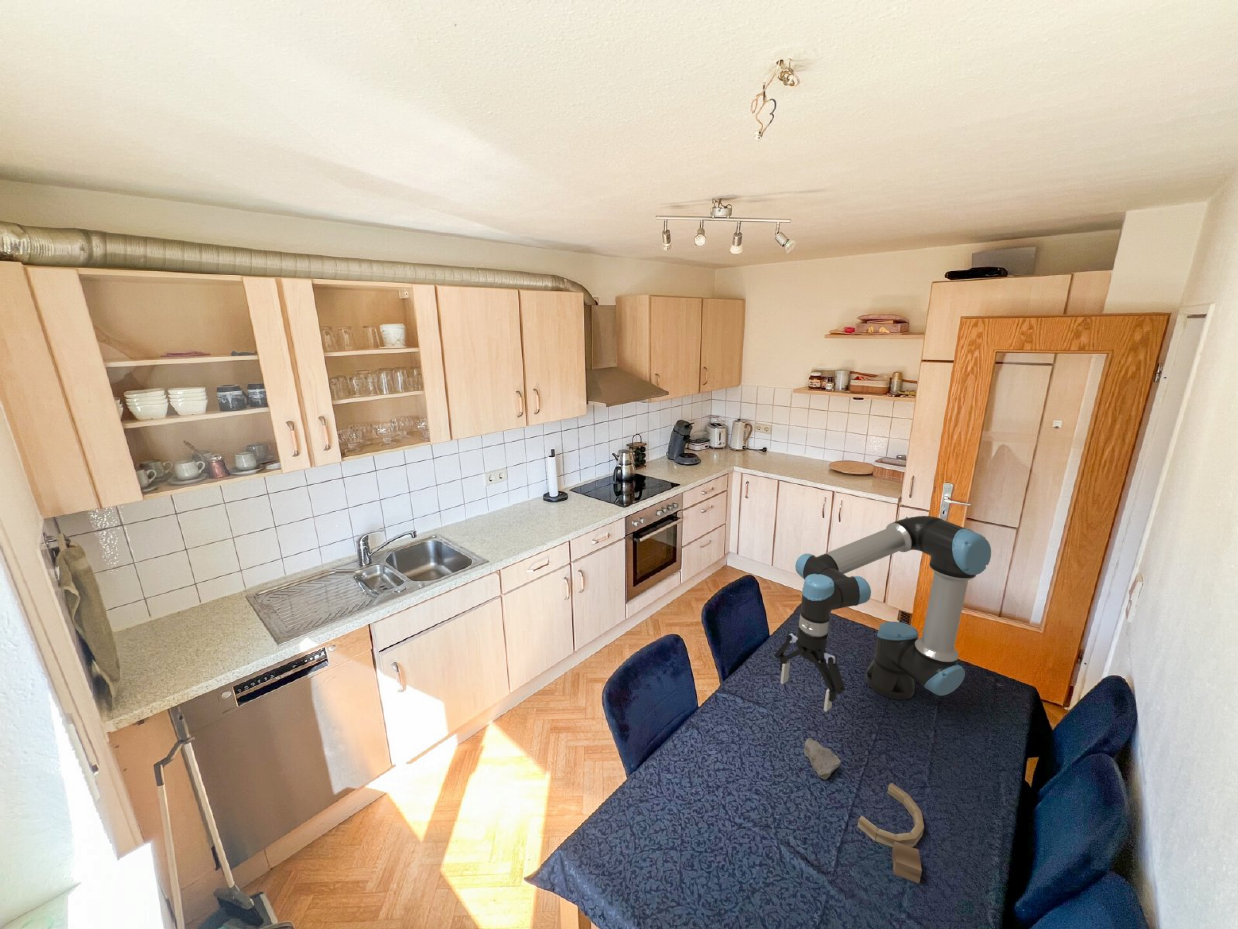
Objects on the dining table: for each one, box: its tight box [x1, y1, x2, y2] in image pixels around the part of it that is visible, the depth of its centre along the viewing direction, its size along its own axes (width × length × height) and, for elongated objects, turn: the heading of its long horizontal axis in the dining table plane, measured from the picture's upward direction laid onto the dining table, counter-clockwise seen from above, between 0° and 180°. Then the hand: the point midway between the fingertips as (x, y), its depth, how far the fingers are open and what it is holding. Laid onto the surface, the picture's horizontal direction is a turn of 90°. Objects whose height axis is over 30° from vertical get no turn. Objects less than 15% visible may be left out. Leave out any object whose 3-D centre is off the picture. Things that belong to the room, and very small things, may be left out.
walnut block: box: [891, 841, 923, 884], centre depth 112 cm, size 5×5×4 cm
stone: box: [803, 737, 841, 781], centre depth 139 cm, size 8×10×6 cm
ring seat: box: [856, 782, 925, 848], centre depth 122 cm, size 17×11×2 cm, turn 127°
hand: (805, 695), depth 139 cm, fingers open, 13 cm apart
